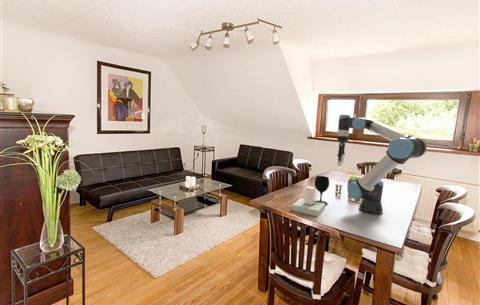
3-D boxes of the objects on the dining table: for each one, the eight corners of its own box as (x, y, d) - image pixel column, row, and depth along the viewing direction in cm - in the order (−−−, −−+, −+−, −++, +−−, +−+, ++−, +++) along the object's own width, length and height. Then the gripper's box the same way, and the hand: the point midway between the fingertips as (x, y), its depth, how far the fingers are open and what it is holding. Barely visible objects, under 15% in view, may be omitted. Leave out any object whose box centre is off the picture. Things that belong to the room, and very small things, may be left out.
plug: (313, 209, 183) (315, 187, 181) (311, 211, 179) (313, 189, 176) (306, 207, 185) (308, 186, 183) (304, 209, 181) (306, 187, 179)
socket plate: (324, 208, 185) (325, 203, 185) (318, 216, 170) (318, 210, 169) (300, 203, 194) (300, 198, 194) (291, 210, 179) (292, 204, 178)
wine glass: (314, 204, 192) (316, 178, 190) (312, 200, 202) (313, 175, 200) (329, 205, 191) (331, 178, 189) (326, 201, 201) (327, 176, 199)
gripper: (339, 134, 204) (337, 161, 207) (335, 136, 182) (332, 166, 185) (349, 135, 200) (347, 162, 203) (346, 136, 178) (343, 167, 181)
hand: (340, 164), depth 194 cm, fingers open, 13 cm apart
